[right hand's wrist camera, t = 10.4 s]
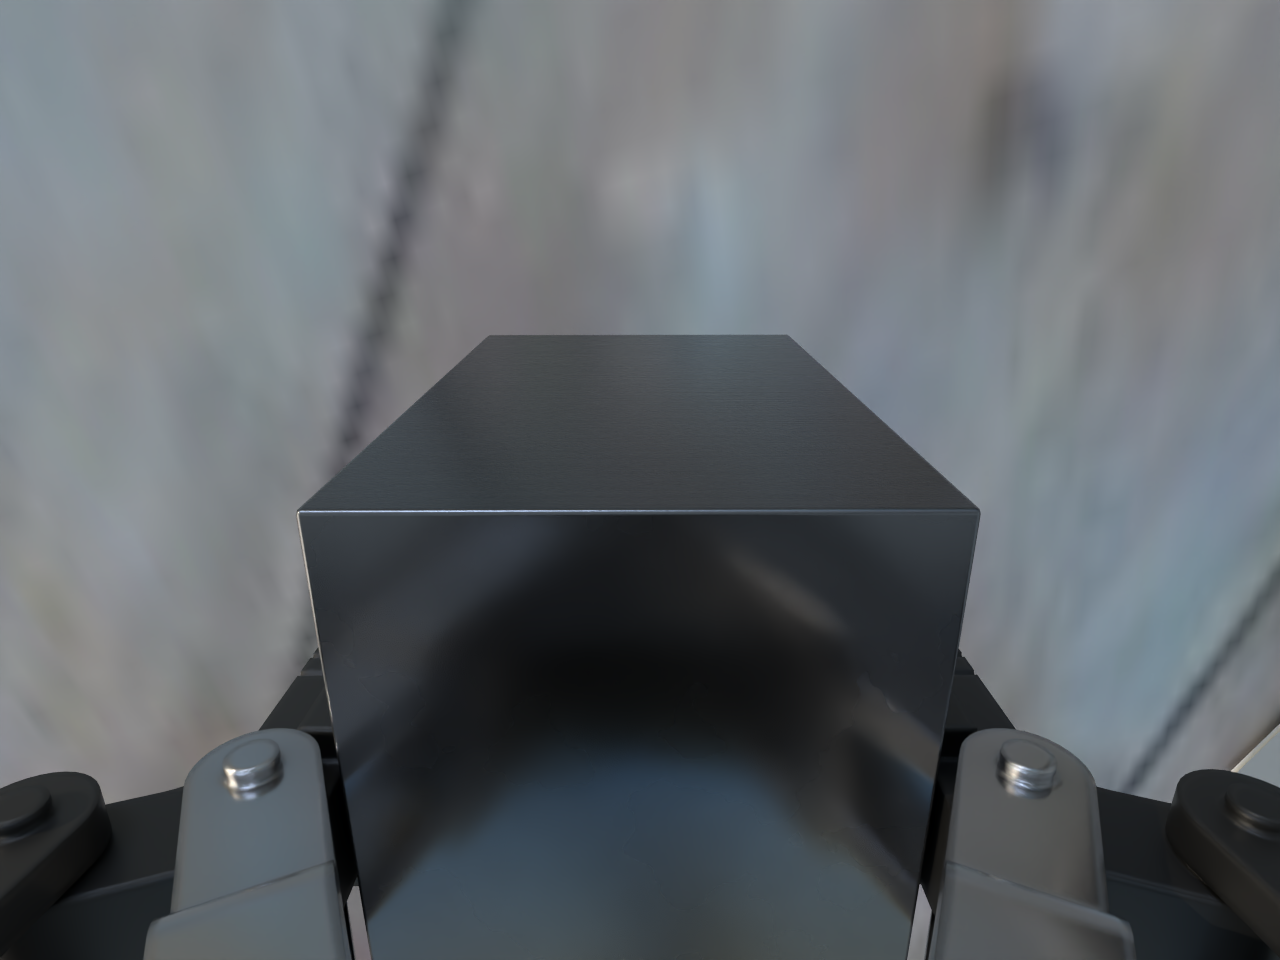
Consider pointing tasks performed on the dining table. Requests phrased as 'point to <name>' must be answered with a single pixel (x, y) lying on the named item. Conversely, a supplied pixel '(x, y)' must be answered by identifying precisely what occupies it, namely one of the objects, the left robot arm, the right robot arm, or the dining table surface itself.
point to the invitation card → (1263, 760)
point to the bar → (638, 656)
